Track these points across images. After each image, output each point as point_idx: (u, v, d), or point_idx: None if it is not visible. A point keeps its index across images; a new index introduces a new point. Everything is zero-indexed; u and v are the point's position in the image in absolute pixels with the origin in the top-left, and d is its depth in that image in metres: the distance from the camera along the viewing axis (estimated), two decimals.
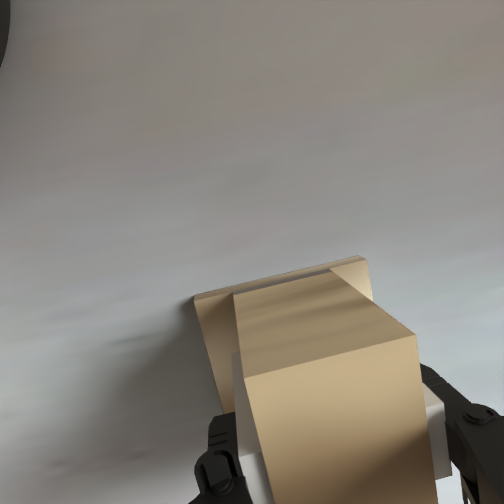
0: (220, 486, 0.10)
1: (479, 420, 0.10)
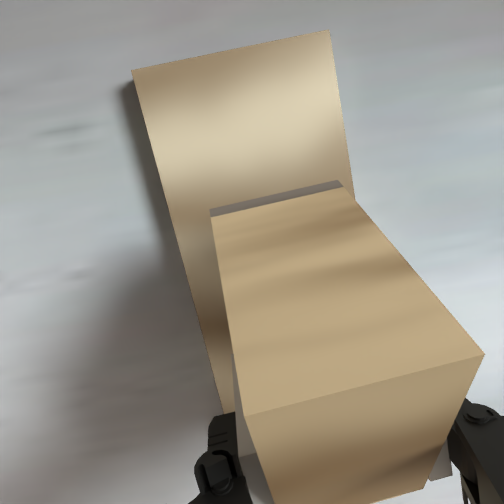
0: (220, 486, 0.10)
1: (479, 420, 0.10)
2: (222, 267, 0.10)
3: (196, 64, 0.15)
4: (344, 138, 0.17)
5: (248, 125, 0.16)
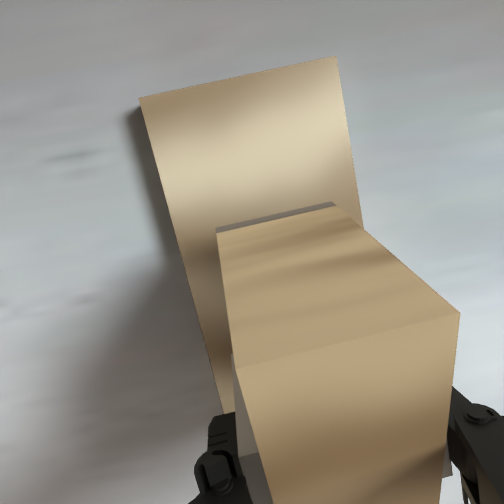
0: (220, 486, 0.10)
1: (479, 420, 0.10)
2: (224, 266, 0.11)
3: (204, 91, 0.15)
4: (351, 162, 0.17)
5: (255, 150, 0.16)
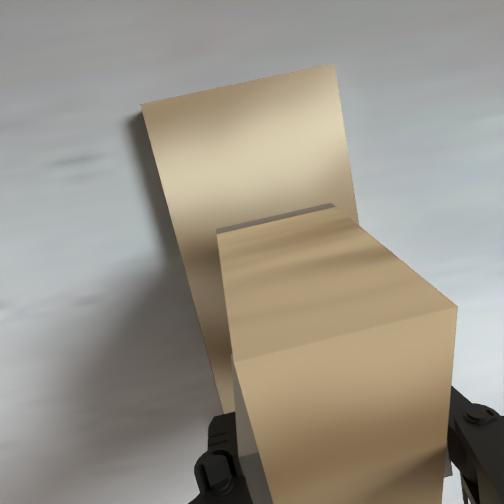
0: (220, 486, 0.10)
1: (479, 420, 0.10)
2: (223, 265, 0.11)
3: (204, 98, 0.16)
4: (349, 168, 0.17)
5: (255, 156, 0.16)
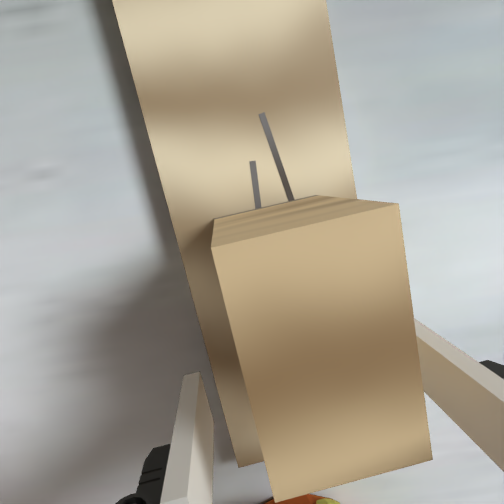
0: None
1: None
2: (216, 226, 0.13)
3: None
4: (327, 19, 0.15)
5: (222, 1, 0.15)
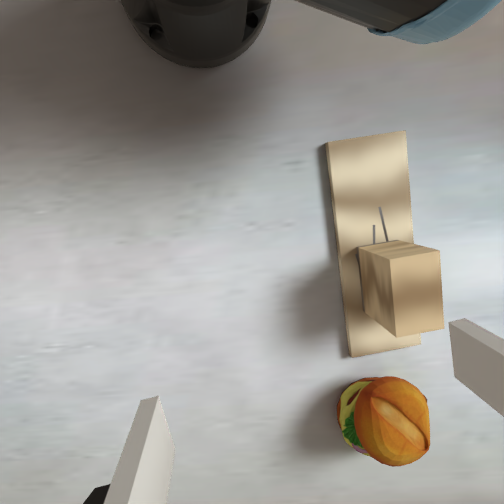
0: None
1: None
2: (370, 251, 0.37)
3: (353, 141, 0.39)
4: (408, 173, 0.40)
5: (370, 165, 0.39)
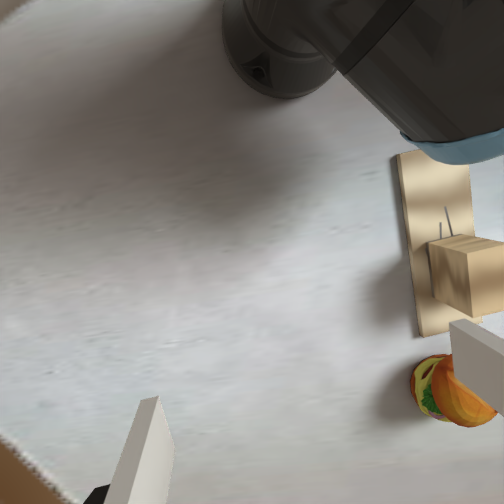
0: None
1: None
2: (442, 246, 0.44)
3: (421, 151, 0.45)
4: (469, 175, 0.46)
5: (436, 171, 0.46)
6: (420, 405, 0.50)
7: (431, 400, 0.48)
